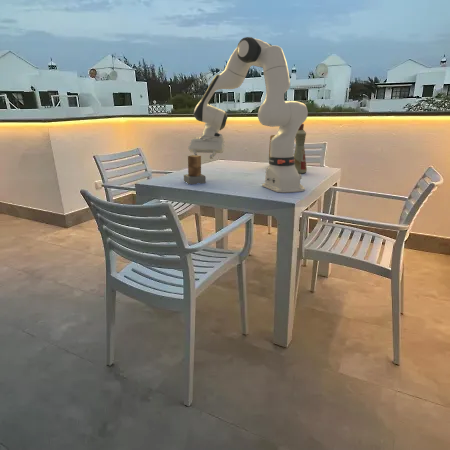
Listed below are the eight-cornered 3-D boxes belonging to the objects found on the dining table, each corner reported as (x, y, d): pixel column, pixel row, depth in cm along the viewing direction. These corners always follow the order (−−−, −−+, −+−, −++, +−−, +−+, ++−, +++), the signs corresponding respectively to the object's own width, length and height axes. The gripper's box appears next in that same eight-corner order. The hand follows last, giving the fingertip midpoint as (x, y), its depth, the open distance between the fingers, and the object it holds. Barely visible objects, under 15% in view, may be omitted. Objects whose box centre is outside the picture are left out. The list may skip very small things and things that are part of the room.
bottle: (290, 171, 198) (292, 122, 189) (306, 171, 197) (309, 122, 187) (290, 174, 190) (293, 123, 181) (306, 174, 189) (310, 123, 179)
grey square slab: (205, 183, 172) (205, 176, 171) (189, 185, 169) (188, 177, 168) (199, 180, 180) (199, 173, 179) (184, 182, 177) (183, 174, 175)
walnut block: (201, 174, 174) (200, 155, 171) (197, 176, 170) (196, 156, 167) (192, 174, 176) (192, 155, 173) (188, 175, 171) (187, 156, 168)
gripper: (190, 134, 187) (184, 153, 182) (224, 134, 181) (218, 154, 176) (194, 141, 193) (187, 160, 187) (227, 141, 186) (221, 162, 181)
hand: (203, 157), depth 181 cm, fingers open, 8 cm apart
